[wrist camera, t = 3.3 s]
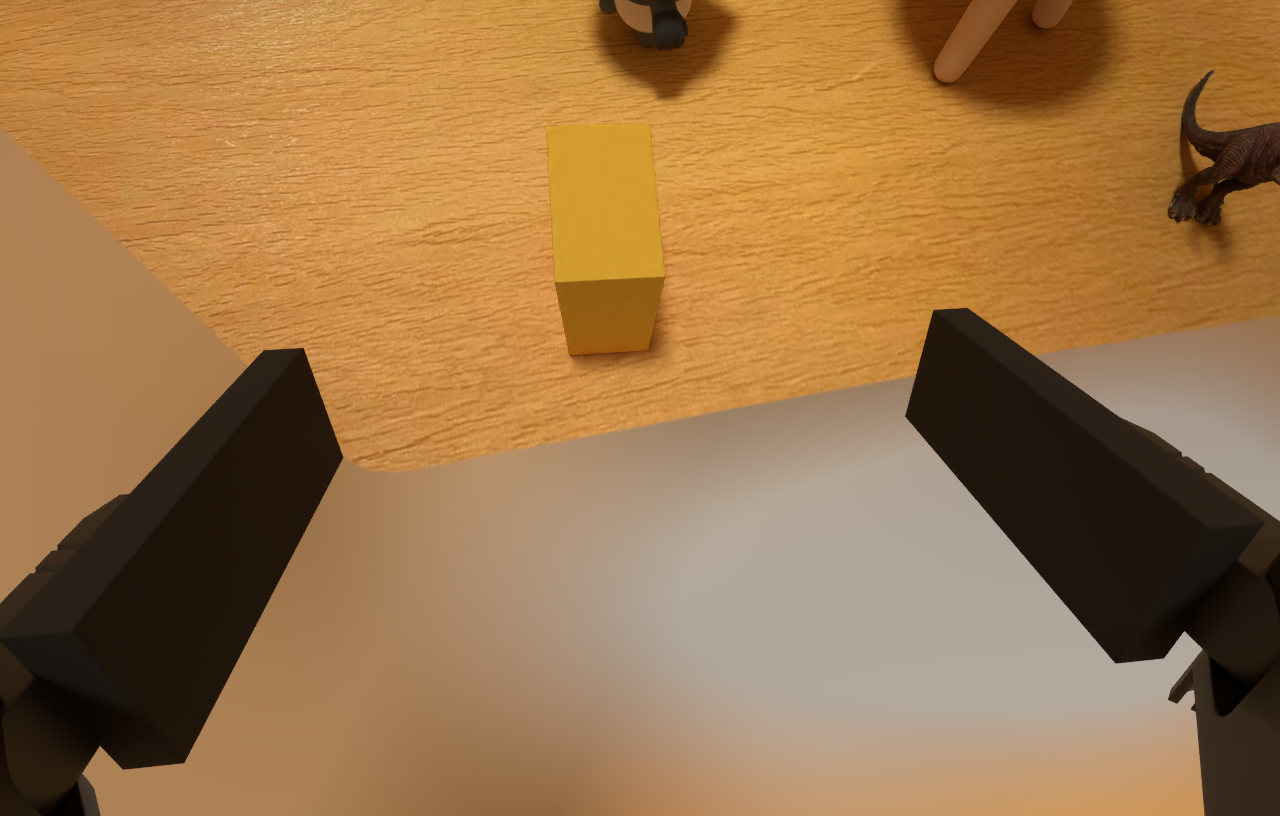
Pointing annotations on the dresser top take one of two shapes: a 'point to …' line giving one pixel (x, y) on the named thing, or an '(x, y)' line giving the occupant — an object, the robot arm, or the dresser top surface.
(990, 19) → the planter
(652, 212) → the yellow block
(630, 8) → the toy
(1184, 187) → the dinosaur model
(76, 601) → the robot arm
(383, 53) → the dresser top surface
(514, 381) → the dresser top surface
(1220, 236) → the dresser top surface
